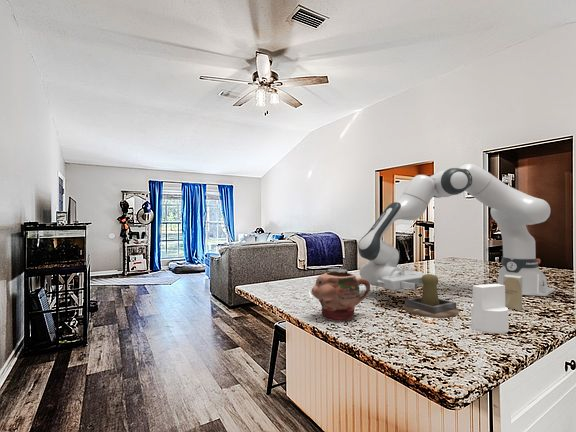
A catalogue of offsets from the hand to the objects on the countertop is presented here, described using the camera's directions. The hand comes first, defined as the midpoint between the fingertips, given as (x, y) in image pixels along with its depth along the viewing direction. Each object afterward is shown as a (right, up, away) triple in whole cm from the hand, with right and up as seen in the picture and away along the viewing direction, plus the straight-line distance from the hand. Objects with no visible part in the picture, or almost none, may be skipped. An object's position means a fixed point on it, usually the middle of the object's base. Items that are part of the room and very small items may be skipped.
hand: (424, 285), depth 111 cm
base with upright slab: (+10, -8, -20) cm, 23 cm away
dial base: (+1, -8, -2) cm, 8 cm away
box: (+30, -8, 0) cm, 31 cm away
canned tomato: (-27, -9, +17) cm, 33 cm away
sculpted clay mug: (-30, -9, -8) cm, 32 cm away
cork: (+1, -7, -2) cm, 8 cm away
